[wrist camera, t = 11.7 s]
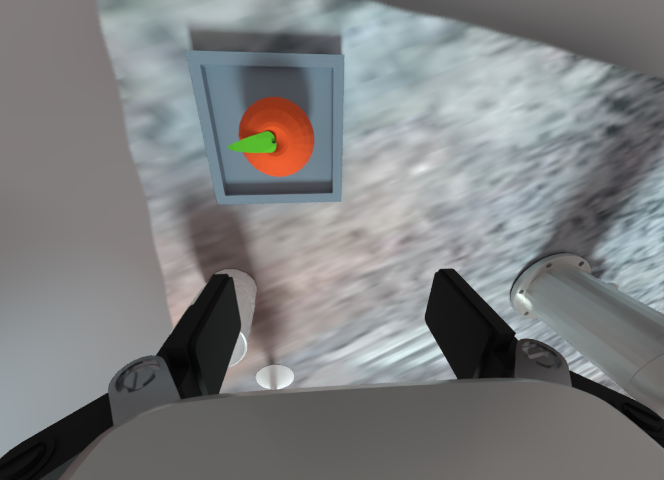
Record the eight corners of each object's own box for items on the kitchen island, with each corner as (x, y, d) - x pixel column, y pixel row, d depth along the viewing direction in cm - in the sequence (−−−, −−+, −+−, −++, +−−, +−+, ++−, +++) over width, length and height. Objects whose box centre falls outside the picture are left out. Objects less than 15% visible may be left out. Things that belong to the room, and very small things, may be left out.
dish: (341, 59, 25) (344, 54, 23) (339, 196, 31) (341, 201, 29) (194, 55, 23) (185, 50, 21) (222, 199, 29) (217, 204, 28)
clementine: (248, 176, 28) (231, 193, 21) (227, 107, 25) (201, 102, 18) (318, 164, 28) (322, 177, 22) (306, 94, 25) (307, 85, 18)
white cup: (190, 284, 34) (150, 343, 25) (233, 254, 33) (207, 305, 24) (232, 317, 37) (209, 380, 28) (272, 291, 36) (262, 348, 27)
